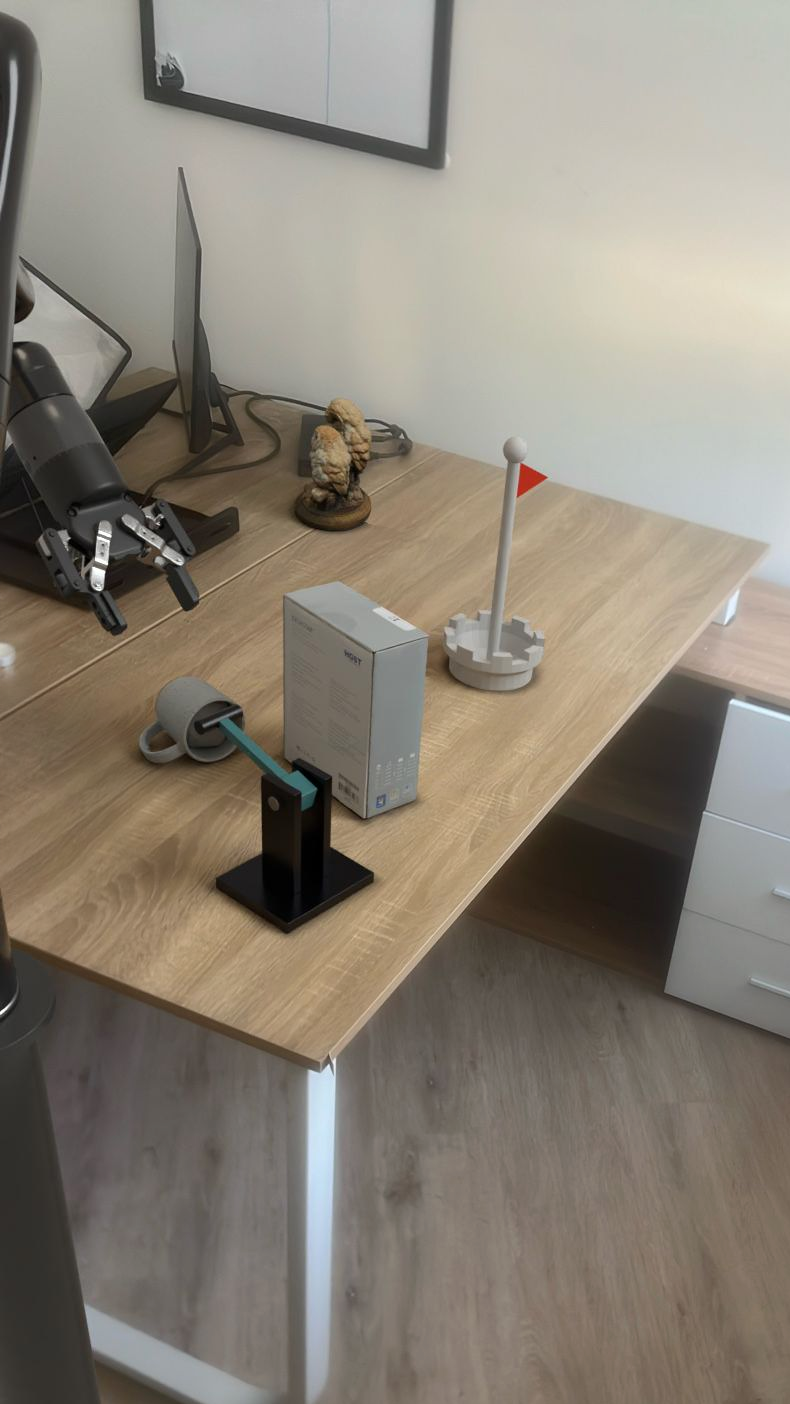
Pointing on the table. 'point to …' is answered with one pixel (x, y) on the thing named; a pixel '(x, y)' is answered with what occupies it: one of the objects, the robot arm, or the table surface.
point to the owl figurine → (337, 471)
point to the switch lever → (254, 750)
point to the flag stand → (498, 606)
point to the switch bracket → (295, 856)
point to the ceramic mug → (188, 721)
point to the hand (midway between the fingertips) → (158, 619)
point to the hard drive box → (353, 695)
